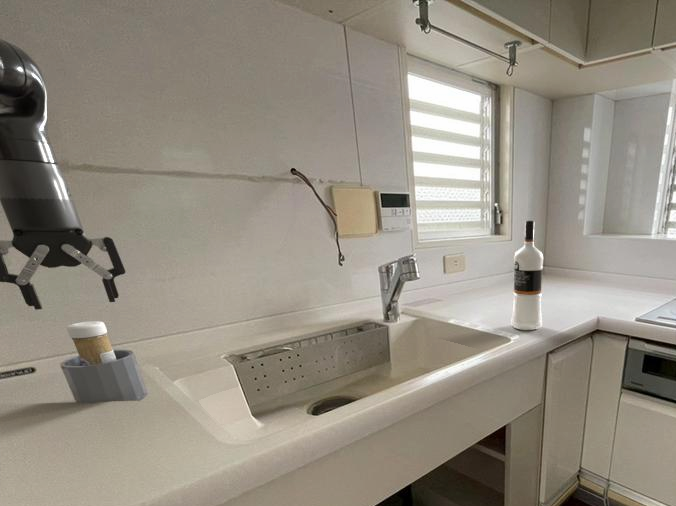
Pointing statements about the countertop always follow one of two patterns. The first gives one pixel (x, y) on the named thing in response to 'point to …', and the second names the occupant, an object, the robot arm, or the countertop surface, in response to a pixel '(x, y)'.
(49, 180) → the robot arm
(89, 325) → the sprinkles bottle
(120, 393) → the blue-grey round container
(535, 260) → the vodka
